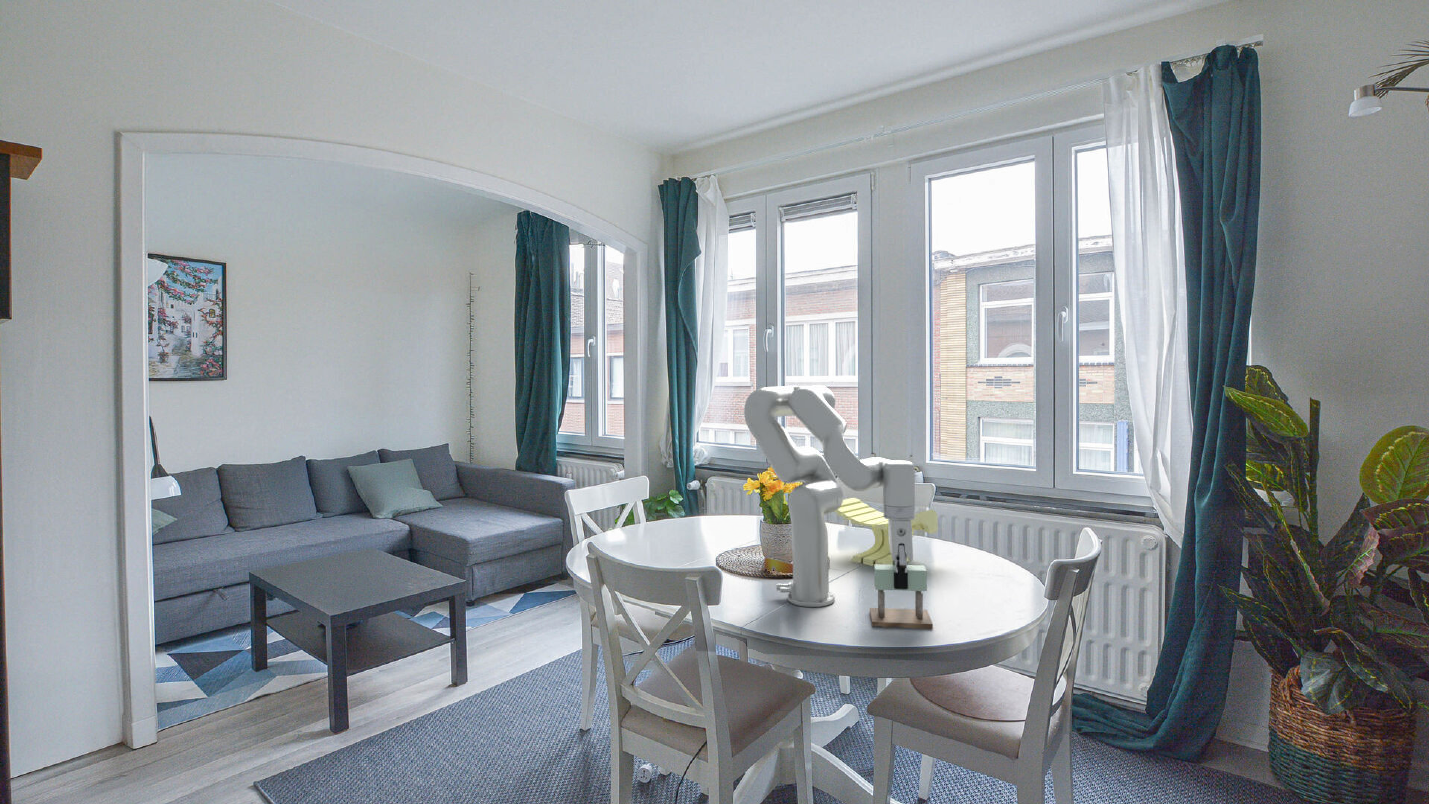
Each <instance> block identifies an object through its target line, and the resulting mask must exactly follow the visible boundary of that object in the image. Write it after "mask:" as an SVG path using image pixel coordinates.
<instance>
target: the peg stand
mask: <svg viewBox="0 0 1429 804" xmlns="http://www.w3.org/2000/svg"><path fill="white" fill-rule="evenodd" d="M914 593H915V594H914V595H915V602H914V603H915V608H914V609H911V608H886V607H885V605H886V604H885V603H886V601H885V594H886V593H885V590H877V607H869V615H870V621H871V627H872V626H882V627H881V628H892V627H902V628H901V629H920V628H921V630H923V629H924V630H933V628H934V626H933V621H932V619H931V617H930V614H929V611H928V609H924V608H923V607H924V602H923V601H924V599H923V598H924V597H923V596H924V595H923V593H922V591H915V592H914Z"/></svg>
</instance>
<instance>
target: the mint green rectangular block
mask: <svg viewBox="0 0 1429 804" xmlns="http://www.w3.org/2000/svg"><path fill="white" fill-rule="evenodd" d="M873 569H874V576H873V577H874V579H873V580H874V588H875V590H876V591H878V590H884V591H907V592H909V591H910V592H914V591H921V592H927V591H928V590H927V588H928V587H927V584H928V583H927V582H928V581H927V580H928V579H927V577H928V576H927V575H928V574H927V573H928V572H927V569H926V567H925V565H923V564H922V565H915V564H912V565H911V564H907V572H908V589H895V588H894V572H895V565H880V564H874V566H873Z"/></svg>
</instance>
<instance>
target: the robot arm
mask: <svg viewBox="0 0 1429 804" xmlns="http://www.w3.org/2000/svg"><path fill="white" fill-rule="evenodd" d="M835 407H836V398H835V395H834V394H833V391H831V390H830V389H829V388H827V387H826V386H823V385H810V386H808V385H807V386H804V385H802V386H801V385H800V386H799V385H798V386H797V385H790V386H789V385H787V386H783V385H782V386H781V385H780V386H767V387H766V386H765V387H761V388H758V389H756V390H753V391H752V392H750V393H749V395H748V397H747V398H746V399H745V403H744V409H743V411H744V412H743V415H744V421H745V424H746V426H747V428H748V430H749V431H750V433H751V435H752V436H753V438H754V439H755V440H756V442H757V444H758V445H759V447H760V450H761V451H762V452H763V454H764V456H765V458H766V460H767V461H768V464H770V466H771V468H772V470H773V472H774V474H775V476H776V477H777V478H778V479H779V481H781V482H782V483H784V484H795V483H799V482H802V484H799V485H797V486H795V487H794V488H793V489H792V490H791V492H790V493H789V496H788V499H787V502H788V503H787V505H788V506H787V507H788V513H789V517H790V524H791V541H792V542H791V543H792V549H791V550H792V564H793V576H792V579H791V582H788V583H780V582H779V583H778V582H776V591H780V593H788V594H787V600H788V602H790V603H791V604H793V605H795V606H796V605H797V606H800V607H806V608H817V607H825V606H829V605H831V604H833V603H834V602H835V597H836V596H835V594H834V593H832V592H831V591H829V588H830V587H829V586H830V584H829V583H830V581H829V579H830V577H829V535H828V529H827V528H828V527H827V525H826V522H825V519H824V516H826V515H830V514H831V513H835V512H834V511H836V510H838V509H839V508H840V507H841V505H842V503H843V500H844V492H843V489H842V487H841V485H840V482H839V481H838V479H839V480H840V481H841V482H842V483H843V484H844V485H845V486H846V487H847V488H849V489H850V490H852V491H855V492H864V491H869V490H871V489H876V488H880V487H882V499H883V500H882V501H883V502H882V506H883V509H882V513H883V517H884V518H885V519H888V531H889V548H890V554H891V557H892V559H893V565H895V572H894V588H895V589H908V572H907V565H908V561H907V557H908V560H909V561H910V562H913V560H914V546H913V545H914V544H913V538H912V524H911V520H913V519H915V514H916V480H915V479H916V478H915V477H916V476H915V475H916V472H915V471H916V470H915V468H916V467H915V465H914V463H913V462H911V461H908V460H901V459H899V460H898V459H897V460H894V459H893V460H891V459H887V458H883V457H877V456H876V457H869V458H863V459H859V458H858V457H857V456H856V455H855V453H854V452H853V451H852V450H851V449H850V448H849V447H848V445H847V443H846V441H845V437H844V434H845V433H846V430H847V423H846V420H844V418H842V416H841V415H840V414H839V413H838V412H837V411H836V410H835ZM788 416H789V417H790V416H792V417H793V416H794V417H796V418H797V419H798V420H799V421H800V422H801V423H802V424H803V425H804V427H806V429H807V430H808V431H809V432H810V433H811V434H812V436H813V437H814V438H815V439H816V440H817V441H818V442H819V443H820V444H821V449H822V453H823V455H824V456H823V455H822V454H821V452H819V451H818V450H817V449H815V448H814V447H811V446H809V445H804V446H803V445H802V446H797V445H796V444H795V442H794V441H793V440H792V438H791V436H790V435H789V433H788V431H787V430H786V429H785V428H784V427H783V426H782V425H781V424H780V423H779V422H778V421H777V419H775V418H777V417H778V418H779V417H788ZM835 475H836V476H835ZM837 478H838V479H837Z"/></svg>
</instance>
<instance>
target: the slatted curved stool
mask: <svg viewBox="0 0 1429 804" xmlns="http://www.w3.org/2000/svg"><path fill="white" fill-rule="evenodd" d="M833 513H836V516H838V517H843V520H844V521H849V522H850V525H857V526H862V527H868V528H871V530H872V533H873V535H874V544H873V545H872V546H871V547H870V548H869V549H867V550H865V551H863V552H861V553H859V554H855V555H853V556H852V559H851V561H850V562H854V563H859V564H863V565H866V566H869V567H874V564H880V565H893V559H892V557H891V554H890V548H889V531H888V519H885V518H884V517H883V512H881V511H879V510H877V509H875V508H873V507H872V506H871V507H870V505H869V504H867V503H865V502H863V501H862V499H858V498H857V497H850V498H846V499H843V503H842V505H841V507H840V508H839V509H838V510H836V511H834V512H833ZM911 524H912V539H913V537H914V534H915V531H920V532H922V531H924V533H927V534H930V535H931V534H934V533H938V530H939V529H938V528H939V527H938V525H939V523H938V514H937V511H936V510H934V509H929V510H925V511H924V510H923V511H921V512H917V513H915V519H913V520H911ZM909 561H910V560H908V557H907V562H909Z"/></svg>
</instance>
